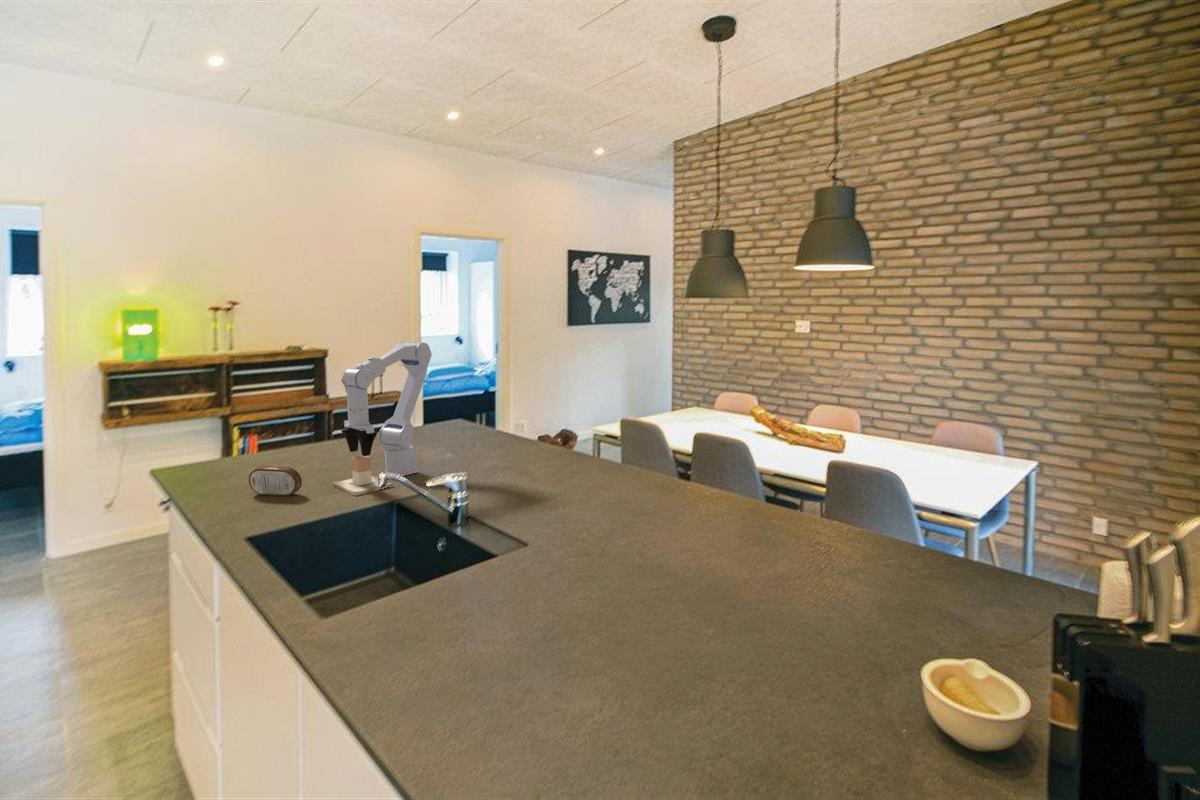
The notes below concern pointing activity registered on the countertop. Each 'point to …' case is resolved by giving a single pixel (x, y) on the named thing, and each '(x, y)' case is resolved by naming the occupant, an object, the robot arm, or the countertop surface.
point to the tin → (275, 480)
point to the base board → (358, 490)
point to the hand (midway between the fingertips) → (359, 453)
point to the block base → (362, 477)
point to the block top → (361, 463)
